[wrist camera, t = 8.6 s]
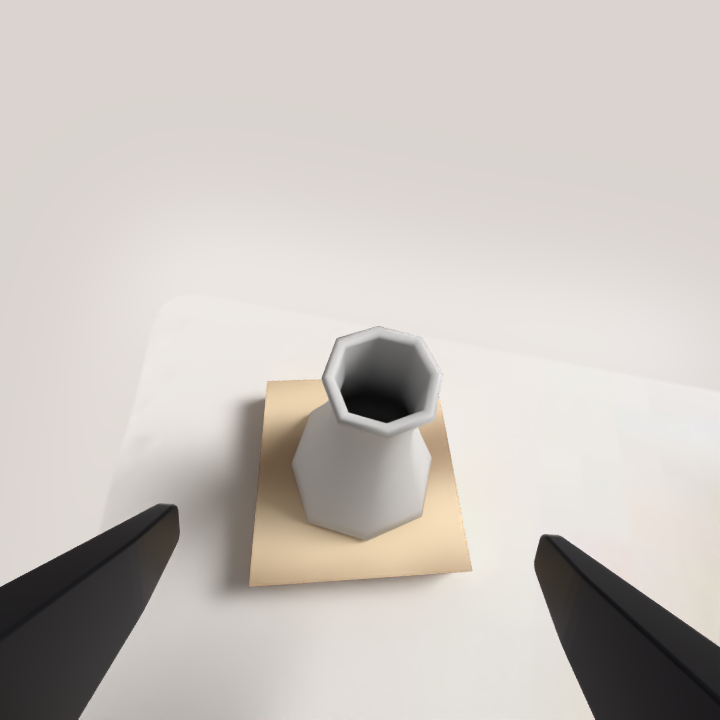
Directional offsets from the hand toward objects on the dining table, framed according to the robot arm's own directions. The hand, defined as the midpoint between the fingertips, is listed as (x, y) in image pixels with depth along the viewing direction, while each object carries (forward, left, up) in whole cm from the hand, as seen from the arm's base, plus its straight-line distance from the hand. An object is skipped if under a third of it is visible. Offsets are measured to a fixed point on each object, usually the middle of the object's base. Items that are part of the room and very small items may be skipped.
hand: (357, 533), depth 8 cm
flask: (+4, -1, -9) cm, 9 cm away
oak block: (+4, 0, -12) cm, 12 cm away
